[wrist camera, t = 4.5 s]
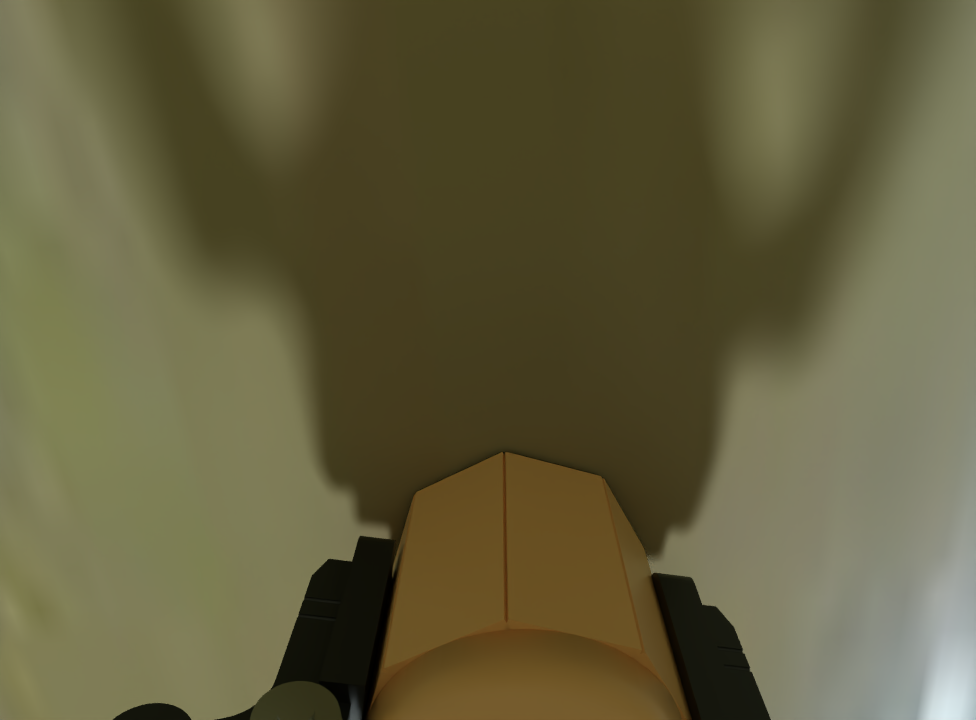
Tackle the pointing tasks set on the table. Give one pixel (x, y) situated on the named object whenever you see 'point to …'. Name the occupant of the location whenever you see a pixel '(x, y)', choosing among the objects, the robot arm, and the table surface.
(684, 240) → the table surface
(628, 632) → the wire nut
